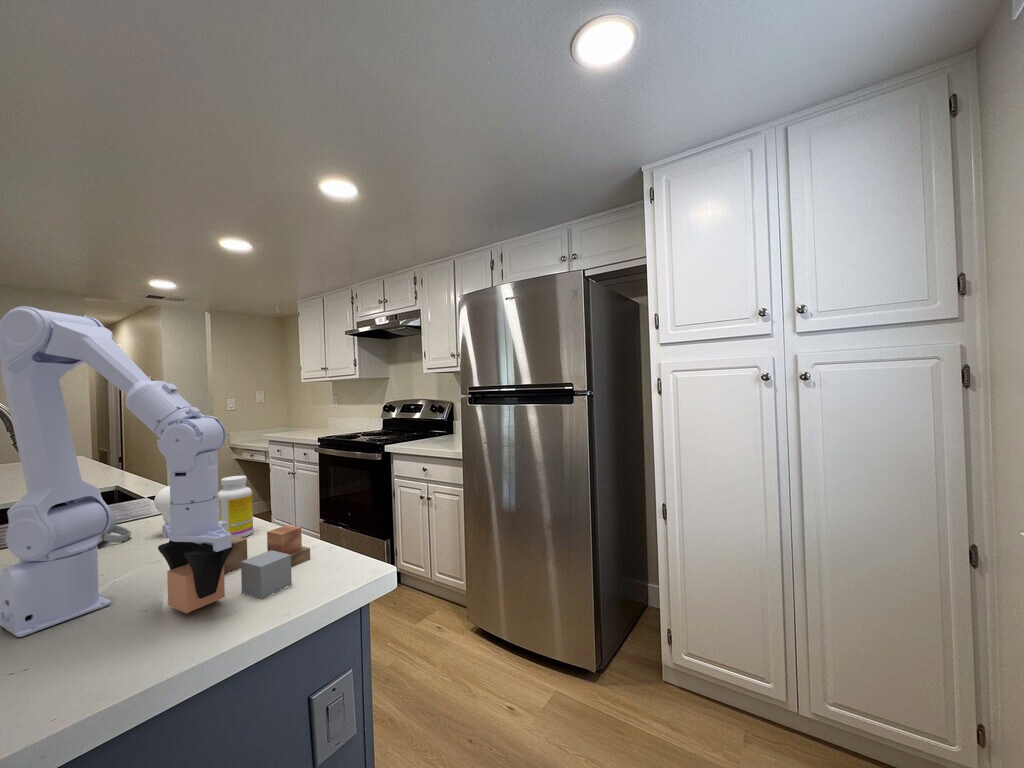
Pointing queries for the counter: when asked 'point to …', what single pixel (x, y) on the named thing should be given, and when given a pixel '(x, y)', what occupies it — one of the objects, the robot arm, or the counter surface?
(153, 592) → the counter surface
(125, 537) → the ceramic mug
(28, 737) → the counter surface
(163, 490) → the lightbulb
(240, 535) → the supplement bottle
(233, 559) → the walnut base
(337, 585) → the counter surface
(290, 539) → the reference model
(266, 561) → the grey block
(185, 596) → the terracotta block
